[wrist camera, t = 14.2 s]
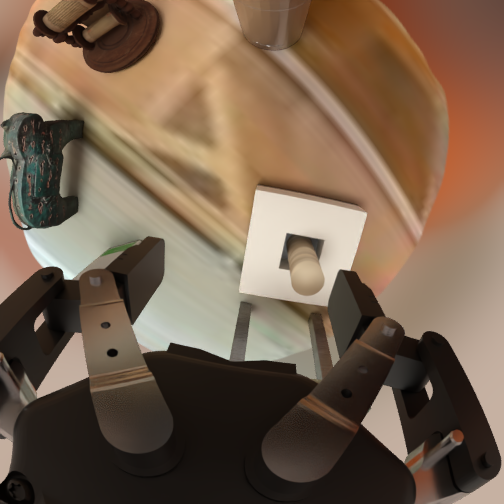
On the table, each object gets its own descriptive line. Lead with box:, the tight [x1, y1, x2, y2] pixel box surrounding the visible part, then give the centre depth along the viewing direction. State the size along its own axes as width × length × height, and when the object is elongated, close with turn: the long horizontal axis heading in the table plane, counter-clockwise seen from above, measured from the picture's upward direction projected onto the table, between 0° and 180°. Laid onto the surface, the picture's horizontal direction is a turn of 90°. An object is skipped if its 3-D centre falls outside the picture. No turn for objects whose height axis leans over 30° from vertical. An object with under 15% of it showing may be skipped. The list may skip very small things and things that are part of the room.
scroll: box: [33, 0, 159, 73], centre depth 23 cm, size 15×15×20 cm
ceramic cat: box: [0, 112, 84, 230], centre depth 32 cm, size 20×6×20 cm, turn 169°
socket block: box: [239, 184, 367, 307], centre depth 42 cm, size 16×16×5 cm
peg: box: [286, 234, 325, 296], centre depth 38 cm, size 4×4×12 cm
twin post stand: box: [229, 302, 371, 412], centre depth 37 cm, size 7×17×25 cm, turn 81°
